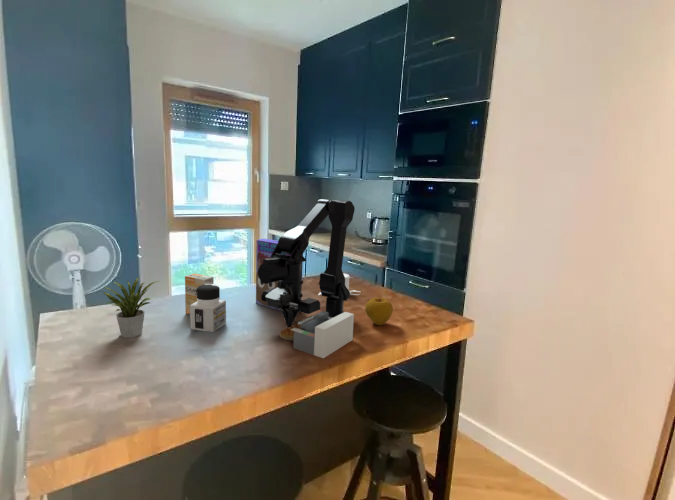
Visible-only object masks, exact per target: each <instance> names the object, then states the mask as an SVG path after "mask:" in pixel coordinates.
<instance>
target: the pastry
mask: <svg viewBox="0 0 675 500" xmlns="http://www.w3.org/2000/svg"><path fill="white" fill-rule="evenodd" d="M293 328H297V329H300V324H298V323H296V324H293V325H292V326H291V327H287V326H286V328H284V329H282V330H281V331H280V334H279V337H280V338H281V339H284V340H286V341H294V331H293V330H291V329H293Z"/></svg>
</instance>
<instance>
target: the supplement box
mask: <svg viewBox="0 0 675 500" xmlns="http://www.w3.org/2000/svg"><path fill="white" fill-rule="evenodd" d="M214 279H215V277H214V276H210V275H205V274H200V273H199V274H198V273H191V274H187V275H185V276H184V292H185V295H184V296H185V297H184V298H185V299H184V300H185V301H184V303H185V304H184V306H185V314H187V315H190V305H191V304H193V303H195V302H197V288H198V287H199V286H201V285H204V284H214Z"/></svg>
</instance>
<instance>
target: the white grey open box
mask: <svg viewBox="0 0 675 500" xmlns="http://www.w3.org/2000/svg"><path fill="white" fill-rule="evenodd" d="M354 318H355V313H351V312H348V311H344V313H342V314H340V315H338V316H336V317H334V318H333V317H330V316H328V321H326V322H324V323H322V324H320V325H318V326H316V327H315V334H313V333H310V332H307V331H304V330H301V329H297V328H293V329H291V330H293V331H294V340H293V349H295V350H298V351H301V352H304V353H306V354H308V355H309V354H310V355H312V356H315V357H317V358H321V359H325V358H326V357H328V356H330V355H332V353H335V352H336V351H337V350H339V349H340V348H342V347H344V346H345V345H347V344H348V343H350V342H351V341H353V339H354Z"/></svg>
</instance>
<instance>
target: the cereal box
mask: <svg viewBox="0 0 675 500" xmlns="http://www.w3.org/2000/svg"><path fill="white" fill-rule="evenodd" d="M255 241H256V242H255V243H256V246H255V247H256V248H255V250H256V253H255V255H256V256H255V257H256V259H255V261H256V263H255V265H256V266H255V268H256V269H255V271H256V272H255V304H256V305H259V306H263V307H265V308H270V309H273V310H276V311H280V312H282V311H281V310H280V309H276V308H274V307H271V306H268V304H267V302H265V301H262V300H261V294H262V293H263V291H266V290H269V289H272V288H275V289H276V288H277V283H278V281H277V282H272V283H268V284H264V283H262V282H261V281H260V279H259V276H258V269H259V267H260V265H261V264H262V263H263V259H266V258H268V259H270V258H271V255H272V253H273V251H274V249H275V247H276V245H277V244H278V241H279V240H275V239H271V238H270V239H269V238H260V239H256V240H255ZM281 254H283V253H281ZM303 254H304V253H303ZM303 254H302V256H303ZM284 255H288V254H284ZM289 256H290V255H289ZM302 278H303V262H301V278H300V280H303V279H302ZM302 286H303V284H301V285H300V293H302ZM300 299H302V297H301V298H300Z"/></svg>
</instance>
